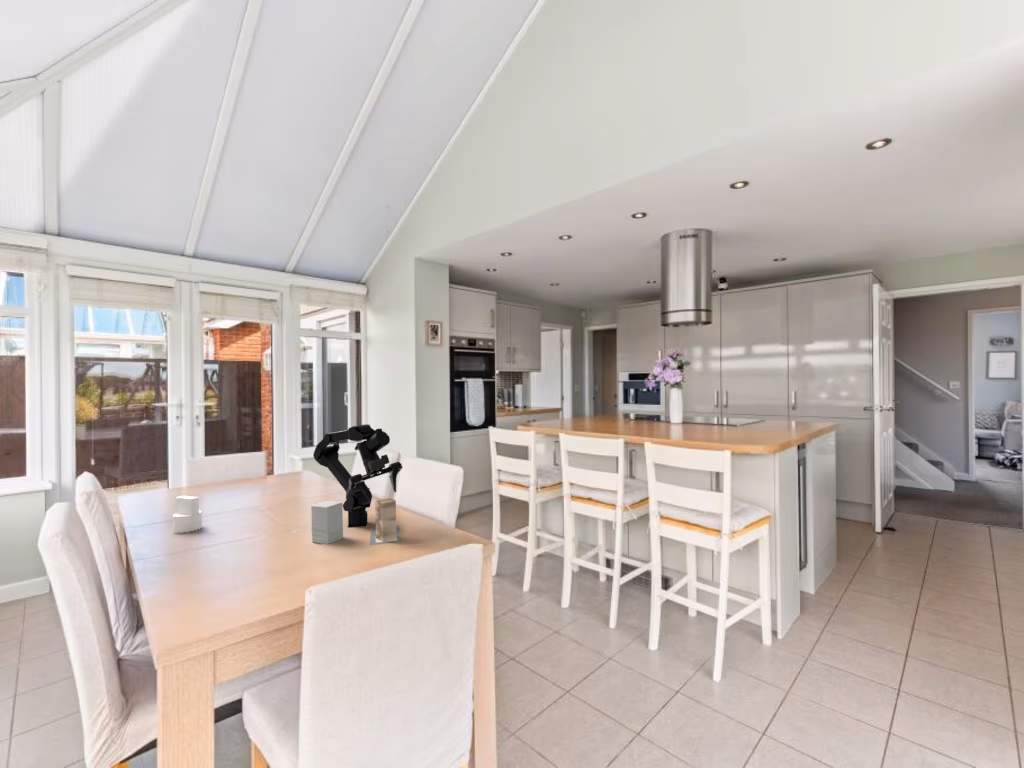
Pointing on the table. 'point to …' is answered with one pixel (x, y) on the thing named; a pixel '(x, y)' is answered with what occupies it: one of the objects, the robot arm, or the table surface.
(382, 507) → the beech post
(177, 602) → the table surface
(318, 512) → the supplement box
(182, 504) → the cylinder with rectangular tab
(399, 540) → the mat
